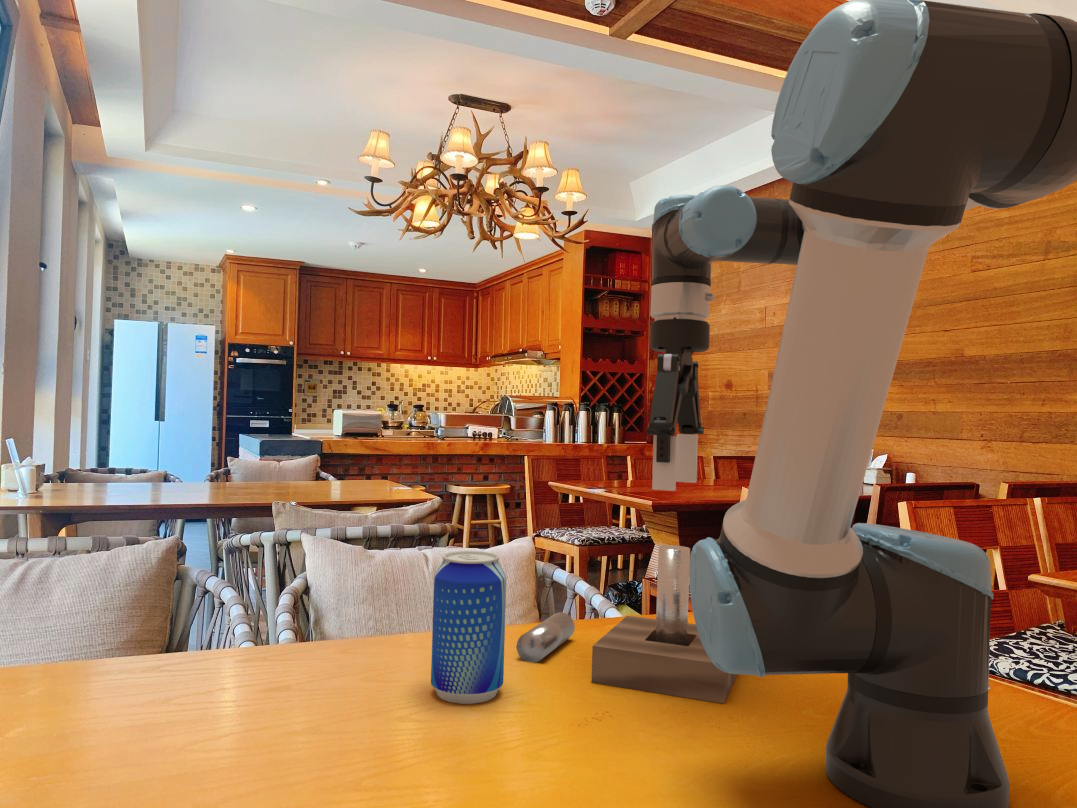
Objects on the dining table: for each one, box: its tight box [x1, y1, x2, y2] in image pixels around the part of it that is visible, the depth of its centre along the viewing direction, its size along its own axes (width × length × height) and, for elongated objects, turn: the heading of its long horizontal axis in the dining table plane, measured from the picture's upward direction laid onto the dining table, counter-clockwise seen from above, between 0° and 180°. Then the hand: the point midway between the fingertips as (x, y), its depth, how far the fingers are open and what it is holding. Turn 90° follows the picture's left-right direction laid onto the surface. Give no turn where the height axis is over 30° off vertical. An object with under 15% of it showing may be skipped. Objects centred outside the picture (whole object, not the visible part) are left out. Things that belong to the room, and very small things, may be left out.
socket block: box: [591, 615, 738, 705], centre depth 103 cm, size 16×16×4 cm
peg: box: [655, 544, 691, 646], centre depth 103 cm, size 4×4×16 cm
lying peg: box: [516, 611, 576, 664], centre depth 111 cm, size 12×4×4 cm
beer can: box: [430, 550, 507, 705], centre depth 93 cm, size 8×8×16 cm
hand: (675, 486), depth 103 cm, fingers open, 13 cm apart
